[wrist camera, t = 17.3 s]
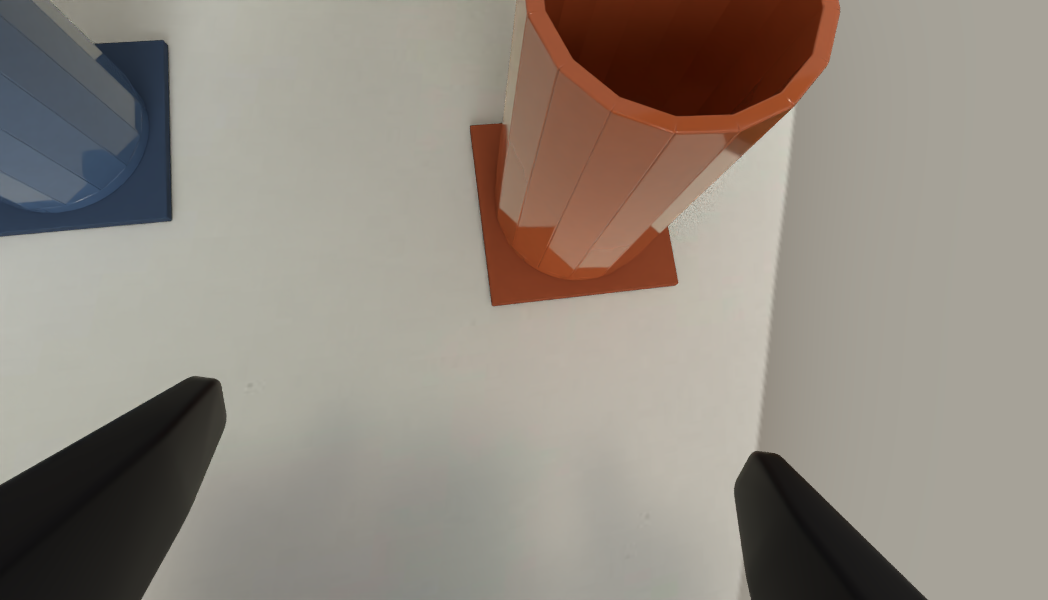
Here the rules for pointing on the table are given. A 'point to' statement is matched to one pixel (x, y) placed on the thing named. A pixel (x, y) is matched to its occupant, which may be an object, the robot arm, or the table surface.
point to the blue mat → (151, 180)
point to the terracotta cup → (639, 115)
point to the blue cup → (62, 113)
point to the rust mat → (528, 284)
